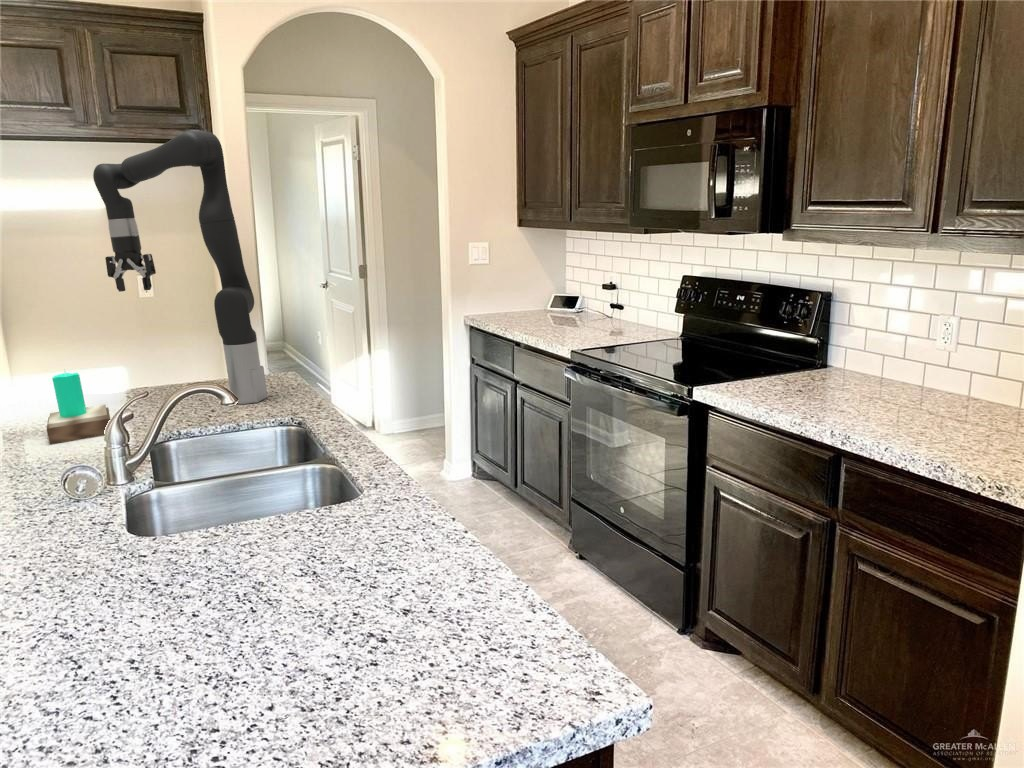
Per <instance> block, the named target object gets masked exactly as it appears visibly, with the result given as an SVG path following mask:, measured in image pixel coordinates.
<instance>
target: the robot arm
mask: <svg viewBox="0 0 1024 768" xmlns="http://www.w3.org/2000/svg"><path fill="white" fill-rule="evenodd" d="M179 167H193V168H197V167H199V168H200V172H201V177H202V182H203V193H202V197H201V201H200V206H199V210H198V222H199V226H200V230H201V234H202V239H203V241H204V244H205V246H206V248H207V251H208V253H209V254H210V257H211V258H212V260H213V263H214V264H215V266H216V267H217V270H218V274H219V279H220V284H221V290H219V291H218V292H217V293H216V295H215V297H214V305H213V306H214V312H215V313H214V314H215V319H216V324H217V328H218V329H217V330H218V333H219V335H220V337H221V339H222V344H223V345H222V346H223V347H222V348H223V351H224V360H225V365H226V372H227V379H228V380H227V381H228V387H229V391H230V390H231V391H232V392H233V393H234V394H235V395H236V396H237V397H238V399H239V401H238V404H237V405H245V404H253V403H260V402H261V401H263V400H265V399H266V398H268V388H267V383H266V374H265V367H264V366H263V365H261V360H260V354H259V347H258V338H257V332H256V331H255V330H254V329H253V327H252V322H251V317H250V313H251V312H252V310H254V306H255V296H254V293H253V290H252V287H251V285H250V282H249V278H248V276H247V272H246V268H245V266H244V265H245V264H244V259H243V254H242V248H241V245H240V244H241V243H240V240H239V239H240V238H239V234H238V228H237V224H236V223H237V222H236V220H235V216H234V213H233V208H232V207H233V206H232V203H231V202H232V201H231V197H230V193H229V187H228V181H227V174H226V173H227V172H226V165H225V158H224V151H223V146H222V144H221V141H220V140H219V138H218V137H217V136H216V134H214V133H213V132H210V131H203V130H187V131H183V132H182V133H180V134H178V135H176V136H174V137H172V138H170V140H169V141H166V142H164V143H163V144H160V145H158V146H157V147H155V148H152V149H150V150H146V151H143V152H140V153H136V154H134V155H131V156H128V157H126V158H125V159H124V160H123V161H122V162H121V163H100V164H97V165H96V166H95V167H94V170H93V174H92V177H93V178H92V179H93V182H94V184H95V188H96V189H97V192H98V193H99V195H100V197H101V200H102V202H103V203H104V206H105V211H106V217H107V221H108V230H109V232H108V233H109V237H110V242H111V249H112V251H113V253H114V256H113V255H109V256H105V258H104V259H105V266H106V270H107V271H106V272H107V276H108V277H109V278H113V279H114V281H115V285H116V289H117V290H118V292H126V285H125V280H124V278H123V277H124V275H125V273H126V272H127V271H135V272H137V273H138V274H139V275H141V277H142V278H141V280H142V286H143V290H144V291H150V290H151V289H152V287H153V286H152V280H151V277H152V276H154V275H155V274H156V273H157V272H156V267H155V262H154V257H153V254H152V253H145V254H143V253H141V252H142V244H141V240H140V239H141V238H140V232H139V229H138V223H137V221H136V216H135V212H134V211H135V210H134V206H133V202H132V200H131V199H129V198H128V197H124V196H122V195H121V193H120V191H119V190H126V189H130V188H132V187H135V186H136V185H138V184H139V183H141V182H145V181H147V180H151V179H154V178H157V177H158V176H161V175H162V174H163V173H164V172H166V171H167V170H169V169H172V168H179ZM143 262H144V263H143ZM116 265H117V266H116Z"/></svg>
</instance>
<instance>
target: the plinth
mask: <svg viewBox="0 0 1024 768" xmlns="http://www.w3.org/2000/svg"><path fill="white" fill-rule="evenodd" d="M85 407H86V413H85V414H83V415H79V416H75V417H67V418H66V417H60V413H59V411H56V412H55V411H54V412H50V413H49V415H48V417H47V418H48V419H47V423H46V433H47V438H48V443H49V445H53V444H60V443H66V442H72V441H78V440H85V439H88V438H89V439H90V438H94V437H100V436H105V435H104V430H105V427H106V425H107V423H108V421H109V420H111V414H110V410H109V407H108V406H106V404H100V405H99V404H98V405H94V406H88V407H87V406H85Z"/></svg>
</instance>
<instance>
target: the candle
mask: <svg viewBox="0 0 1024 768" xmlns="http://www.w3.org/2000/svg"><path fill="white" fill-rule="evenodd" d="M63 371H64V373H60V374H57V375H53V376H52V383H53V387H54V393H55V397H56V403H57V407H58V408H57V409H58V412H59V413H60V417H66V418H67V417H75V416H79V415H83V414H85V413H86V407H87V406H86V403H85V398H84V392H83V388H82V382H81V381H82V380H81V377H80V374H79V372H74V373H71V372H70V373H69V372H68V373H67V372H66V370H65V368H64V369H63Z"/></svg>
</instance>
